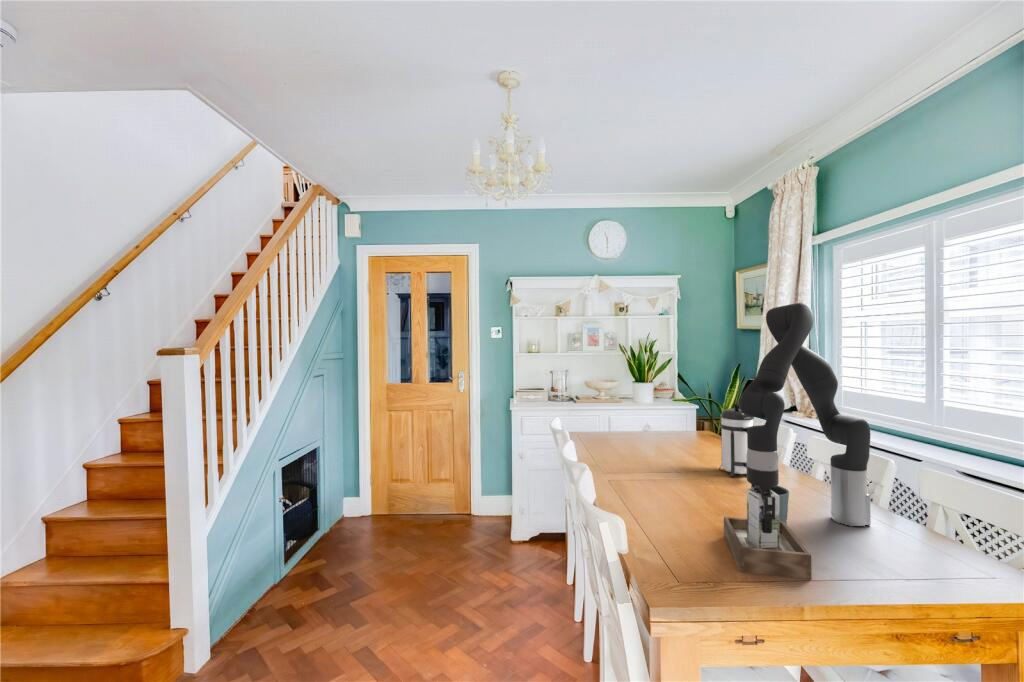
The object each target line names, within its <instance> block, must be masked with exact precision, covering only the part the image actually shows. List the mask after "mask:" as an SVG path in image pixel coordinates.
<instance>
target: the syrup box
mask: <svg viewBox="0 0 1024 682" xmlns="http://www.w3.org/2000/svg"><path fill="white" fill-rule="evenodd" d="M755 491H758V490H754V489H751V488H746V519H747V539H748V540H749V541H750V542H751V543H752V544H753V545H755V546H756V547H757V548H759V549H770V548H779V501H780V500H779V499H780V498H779V495H778V494H776V493H775V492H773V491H772V490H771V492H772V493H773V495H771V497H775V520H772V533H763V531H762V517H761V509H760V508H759V507H760V506H763V500H762V497H761V494H760V493H756V492H755ZM767 514H769V511H767Z"/></svg>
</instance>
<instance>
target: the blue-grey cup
mask: <svg viewBox="0 0 1024 682" xmlns="http://www.w3.org/2000/svg"><path fill="white" fill-rule="evenodd" d="M770 490H772V491H773V492H775V493H776V494H778V495H779V498H780V499H779V500H780V501H779V521H783V522H785V523H786V524H787V525H788V523H787V521H788V511H789V497H790V491H789V489H787V488H785V487H783V486H780V485H777V486H775V487H771V488H770Z"/></svg>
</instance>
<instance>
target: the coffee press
mask: <svg viewBox="0 0 1024 682" xmlns="http://www.w3.org/2000/svg"><path fill="white" fill-rule="evenodd" d="M733 407H734V408H727V409H723V410H722V411H721V413H720V415H719V416H720V419H721V422H720V428H721V433H720V434H721V435H720V437H721V439H720V440H721V465H720V467H719V468H718V470H719V471H720V470H722V471H724V470H725V471H726V472H729V473H730V475H729V477H730V478H733V479H734V478H736V477H735V476H736V474H737V475H738V474H740V475H745V474H746V475H747V459H746V457H747V448H748V447H747V431H748V428H749V427H751V426H755V425H754V419H755V417H750V416H746V415H744V414H743V413H742V412H741V410H740V407H739V403H738V402H737V403H734V404H733ZM721 468H722V469H721Z"/></svg>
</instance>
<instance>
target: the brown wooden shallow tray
mask: <svg viewBox="0 0 1024 682" xmlns="http://www.w3.org/2000/svg"><path fill="white" fill-rule="evenodd" d="M723 538H724V540H725V542H727V543H726V545H727V547H728V549H729V551H731V552H730V554H731V556H732V558H733V560H734V563H735V565H736V568H737V569H738V572H740V573H745V574H746V573H747V574H757V575H765V576H766V575H767V576H774V577H775V576H776V577H786V578H796V579H803V580H812V576H813V575H812V554H811V553H810V551H808V549H807V548H806V546H805V545H804V544H803V543H802V542H801V541H800V539H799V538H798V537H797V535H796V534H795V533H794V532H793V531H792V529H791V527H789V525H788V523H787V524H786V523H785V522H783V521H779V548H770V549H759V548H757V547H756V546H755V545H753V544H752V543H751V542H750V541H749V540H748V539H747V518H742V517H741V518H740V517H730V516H723Z"/></svg>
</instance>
